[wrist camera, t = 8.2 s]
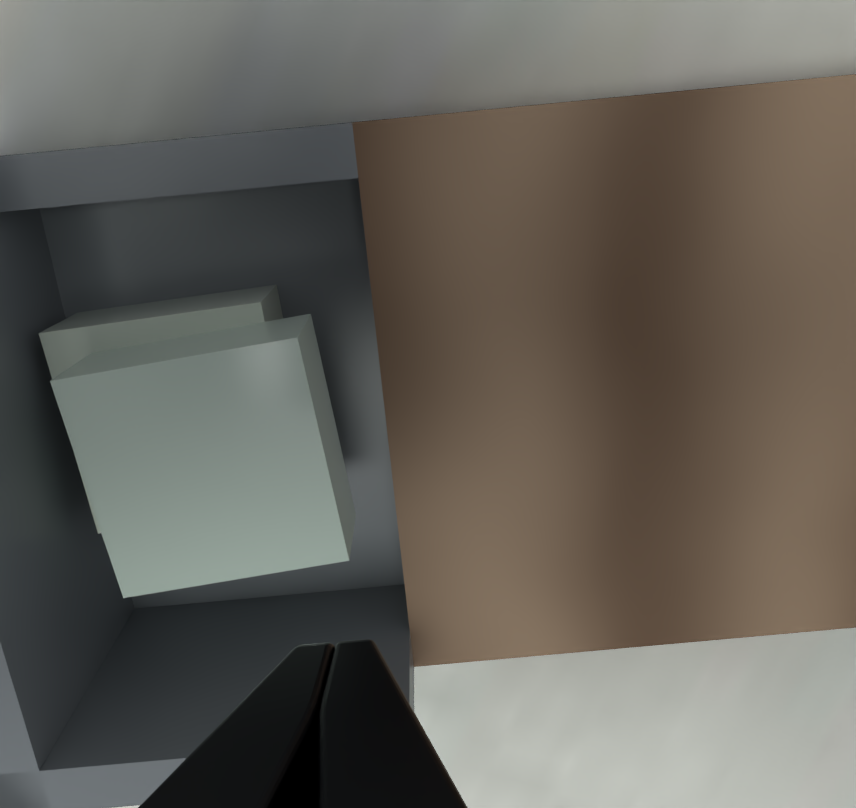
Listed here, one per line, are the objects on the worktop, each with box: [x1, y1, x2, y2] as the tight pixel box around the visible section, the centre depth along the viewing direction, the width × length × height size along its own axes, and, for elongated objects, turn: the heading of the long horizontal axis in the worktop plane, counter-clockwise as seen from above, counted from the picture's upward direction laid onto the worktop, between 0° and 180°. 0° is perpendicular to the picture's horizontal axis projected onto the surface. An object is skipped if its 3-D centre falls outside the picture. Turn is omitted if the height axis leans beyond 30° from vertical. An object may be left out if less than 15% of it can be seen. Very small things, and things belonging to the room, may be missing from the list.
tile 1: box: [50, 314, 356, 598], centre depth 16 cm, size 4×4×2 cm
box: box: [0, 122, 414, 808], centre depth 16 cm, size 8×12×6 cm, turn 5°
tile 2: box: [39, 285, 283, 534], centre depth 18 cm, size 4×4×2 cm
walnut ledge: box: [352, 74, 856, 667], centre depth 18 cm, size 12×12×2 cm
